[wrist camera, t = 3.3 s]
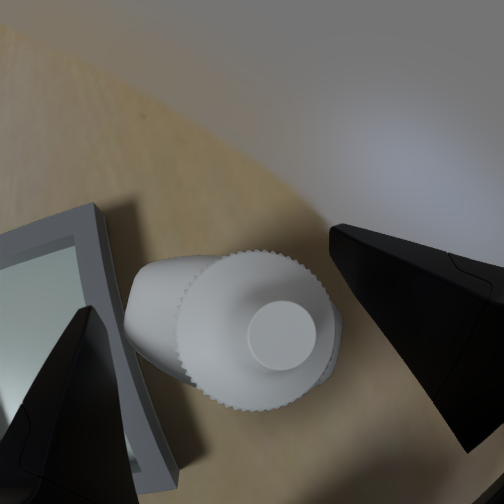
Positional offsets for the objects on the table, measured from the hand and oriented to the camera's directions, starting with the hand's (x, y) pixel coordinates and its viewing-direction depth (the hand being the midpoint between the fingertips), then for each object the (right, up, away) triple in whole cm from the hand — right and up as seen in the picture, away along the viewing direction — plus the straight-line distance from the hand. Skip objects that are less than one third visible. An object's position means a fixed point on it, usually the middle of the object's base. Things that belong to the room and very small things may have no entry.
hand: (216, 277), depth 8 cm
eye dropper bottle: (-1, -3, +6) cm, 7 cm away
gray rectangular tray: (-10, -5, +4) cm, 12 cm away
